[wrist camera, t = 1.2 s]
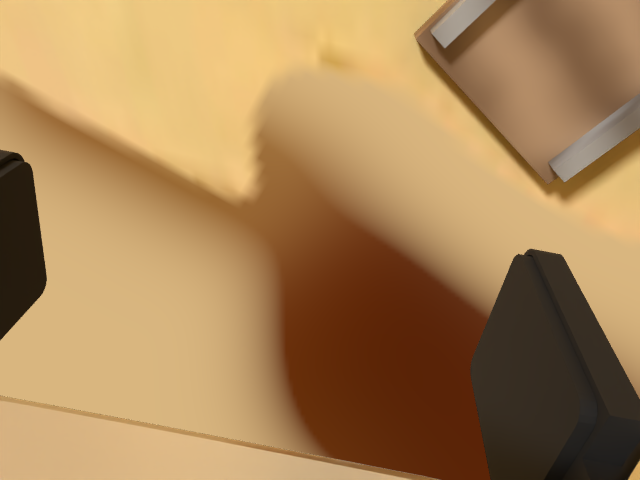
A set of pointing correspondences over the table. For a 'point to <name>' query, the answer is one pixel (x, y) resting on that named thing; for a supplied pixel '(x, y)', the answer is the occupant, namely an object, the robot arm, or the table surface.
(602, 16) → the stand
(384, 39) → the table surface
